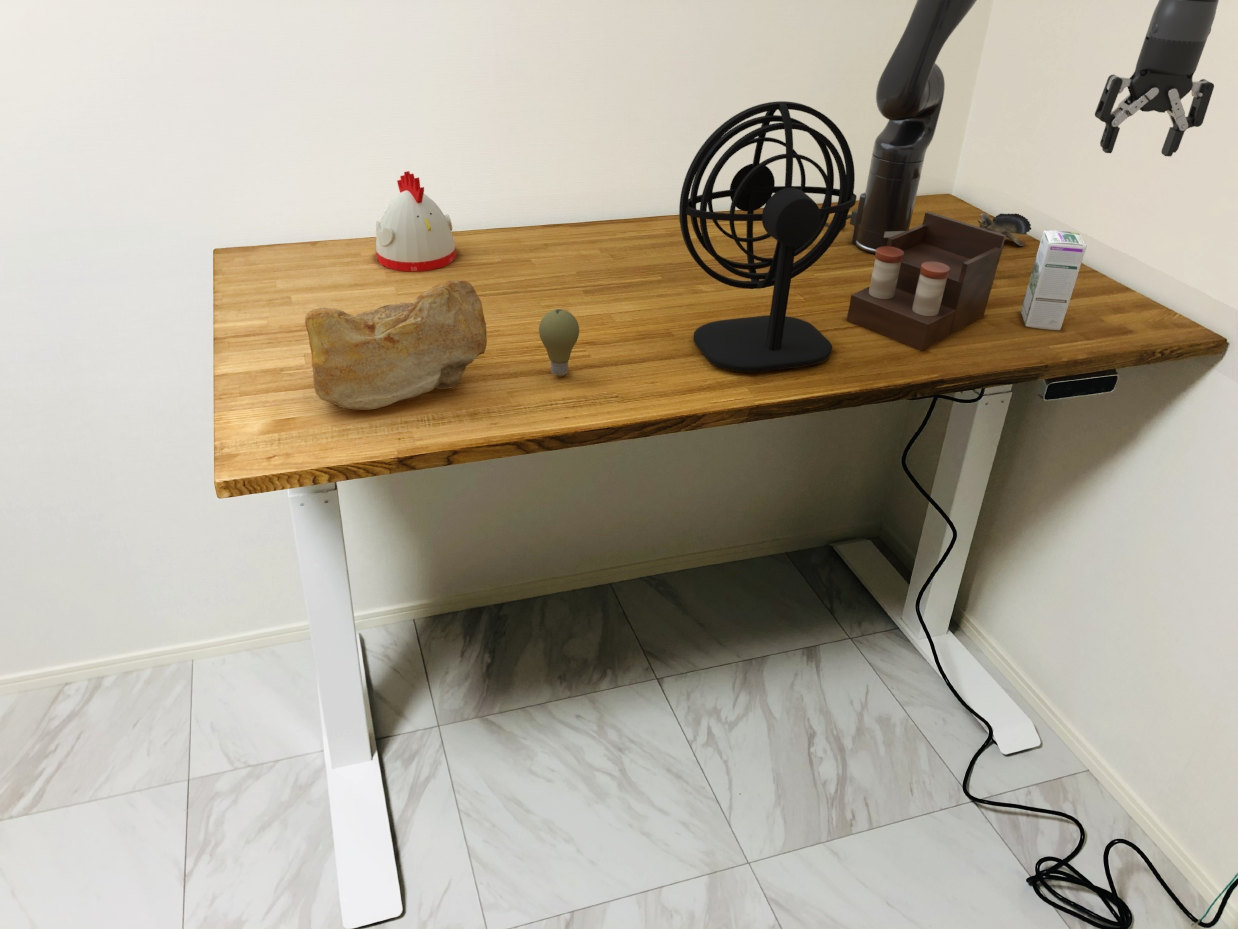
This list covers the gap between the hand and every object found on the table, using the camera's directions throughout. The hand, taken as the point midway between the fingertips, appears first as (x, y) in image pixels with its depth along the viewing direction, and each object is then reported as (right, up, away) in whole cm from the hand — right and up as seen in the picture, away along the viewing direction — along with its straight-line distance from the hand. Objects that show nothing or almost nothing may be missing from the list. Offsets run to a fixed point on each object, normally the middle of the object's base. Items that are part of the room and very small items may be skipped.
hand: (1136, 153), depth 137 cm
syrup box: (-7, -23, +16) cm, 29 cm away
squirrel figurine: (-2, -3, +45) cm, 45 cm away
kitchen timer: (-113, -9, +30) cm, 117 cm away
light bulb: (-85, -33, -4) cm, 91 cm away
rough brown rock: (-107, -34, -7) cm, 112 cm away
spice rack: (-28, -22, +15) cm, 38 cm away
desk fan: (-54, -28, +6) cm, 61 cm away
